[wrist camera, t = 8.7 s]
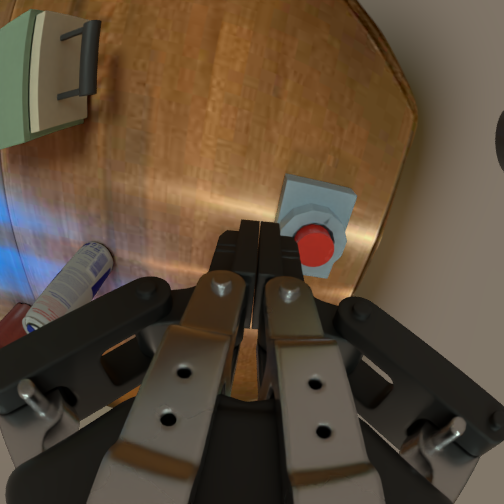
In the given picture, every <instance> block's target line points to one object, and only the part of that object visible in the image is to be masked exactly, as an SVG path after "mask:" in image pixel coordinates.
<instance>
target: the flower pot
mask: <svg viewBox="0 0 504 504" xmlns="http://www.w3.org/2000/svg"><path fill="white" fill-rule="evenodd" d="M30 308H31V306H29V305H27V304H21V303H18V304H16V305H15V306H14V307H13V308H12V309H11V311H10V312H9V313H8V314H7V315H6V316H5V317H4V318H3V319H2V320H1V321H0V348H2V347H4V346H6V345H8V344H10V343H12V342H13V341H15V340H17V339H19V338H21V337H23V336H25V335H27V333H26V331H25V329H24V327H23V324H22V320H23V318H24V317H25V316H26V314H27V312H28V311H29V309H30Z"/></svg>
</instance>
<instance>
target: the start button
mask: <svg viewBox="0 0 504 504" xmlns="http://www.w3.org/2000/svg"><path fill="white" fill-rule="evenodd" d="M294 240H295V241H296V242H297V243H298V248H299V254H300V260H301V263H302V264H303V265H305V266H308V267H318V266H321V265H324V264H325V263H327V262H328V261H329V260H330V259H331V257H332V256H333V253H334V244H333V241H332V239H331V236H330V234H329V232H328V231H327V229H325V228H324V227H323V226H320V225H316V224H311V225H307V226H304V227H302V228H301V229H300V230H299V231H298V232H297V233H296V235H295V237H294Z"/></svg>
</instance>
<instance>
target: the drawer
mask: <svg viewBox="0 0 504 504" xmlns="http://www.w3.org/2000/svg"><path fill="white" fill-rule="evenodd" d="M100 28H101V21H100V20H91V21H90V20H86V19H83V18H79V17H75V16H70V15H66V14H61V13H56V12H51V11H44V12H42V13H40V14H38V15H37V17H36V22H35V28H33V33H32V40H31V49H30V59H29V76H28V114H29V126H31V133H35V132H38V131H42V130H45V129H48V128H51V127H54V126H58V125H61V124H65V123H68V122H72V121H76V120H80V119H84V118H87V96H88V95H93V94H96V93H97V62H98V48H99V37H100Z"/></svg>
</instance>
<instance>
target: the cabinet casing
mask: <svg viewBox="0 0 504 504" xmlns="http://www.w3.org/2000/svg"><path fill="white" fill-rule="evenodd" d="M42 12H44V11H41V10H35V9H30V10H28V11H27V12H25V13H24V14H22V15H20V16H19V17H17V18H16V19H14V20H13V21H11V22H10V23H8V24H7V25H5V26H4V27H3V28H1V29H0V149H3V148H7V147H10V146H14V145H18V144H21V143H25V142H28V141H30V140H33V139H35V138H38V137H41V136H44V135H47V134H50V133H53V132H56V131H59V130H62V129H65V128H68V127H72V126H75V125H79V124H82V123H84V119H80V120H76V121H72V122H68V123H65V124H61V125H58V126H54V127H51V128H48V129H45V130H42V131H38V132H35V133H31V126H29V114H28V76H29V59H30V49H31V40H32V33H33V28H35V22H36V17H37V15H38V14H40V13H42Z"/></svg>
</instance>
